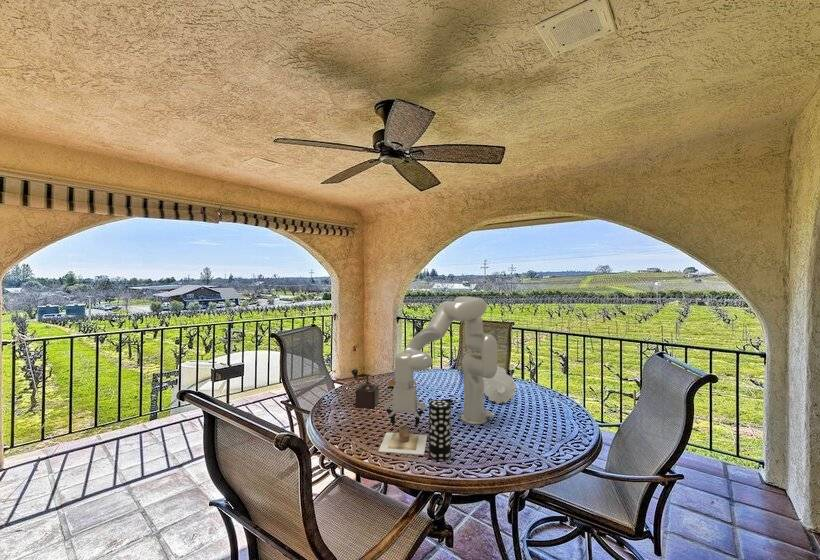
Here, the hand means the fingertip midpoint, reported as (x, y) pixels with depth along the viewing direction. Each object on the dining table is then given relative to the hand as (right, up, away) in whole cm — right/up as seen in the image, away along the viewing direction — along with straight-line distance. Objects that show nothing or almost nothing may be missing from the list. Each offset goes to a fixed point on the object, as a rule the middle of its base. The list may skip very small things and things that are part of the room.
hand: (405, 425), depth 140 cm
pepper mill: (-23, -7, +42) cm, 49 cm away
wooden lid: (0, -7, 0) cm, 7 cm away
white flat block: (0, -8, 0) cm, 8 cm away
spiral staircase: (+51, -7, +53) cm, 74 cm away
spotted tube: (+13, -8, -9) cm, 18 cm away
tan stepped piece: (-3, -7, +72) cm, 72 cm away
